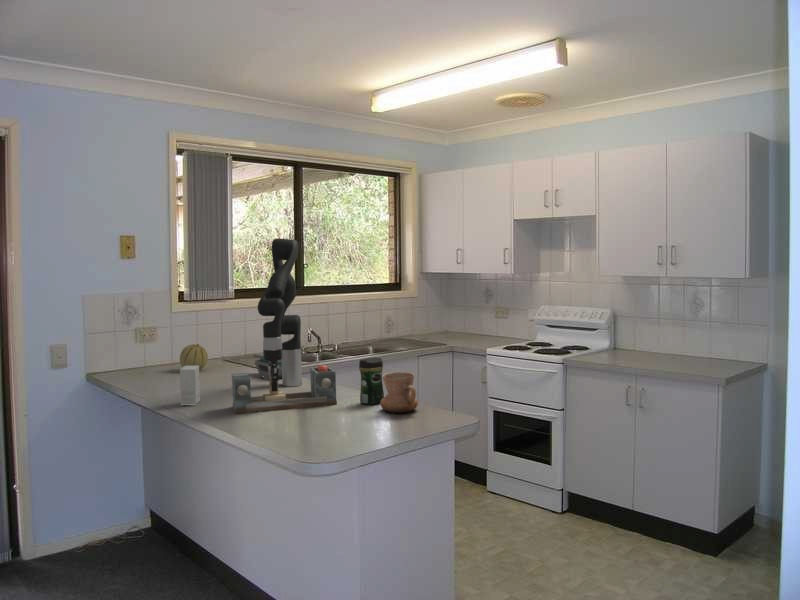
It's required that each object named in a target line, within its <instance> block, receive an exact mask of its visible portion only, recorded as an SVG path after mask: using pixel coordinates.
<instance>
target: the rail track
mask: <svg viewBox="0 0 800 600" xmlns="http://www.w3.org/2000/svg"><path fill="white" fill-rule="evenodd" d="M309 370H310V371H309V373H310V375H309V376H310V391H301V392H291V393H288V392H287V393H284V394H285V395H286V400H278V401H267V402H264V401H263V395H256V396H255V395H254V396H251V395H252V393H251V390H252V389H251V377H250V374H248V373H247V372H242V373H232V374H231V382H232V385H231V386H232V387H231V388H232V407H234V408H233V410H235V411H234V413H235V414H236V413H242V414H248V413H247V412H252V413H257V412H256V411H263V412H271V410H273V411H281V410H293V409H303V408H315V407H325V406H324V405H326V406H333V405H332V404H336V405H338V401H337V381H336V370H335V369H333V368H331V367H330V366H327V370H328V371H326V372H318V367H310V368H309Z"/></svg>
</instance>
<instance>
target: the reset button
mask: <svg viewBox="0 0 800 600" xmlns="http://www.w3.org/2000/svg"><path fill="white" fill-rule="evenodd" d="M327 367H328V364H327V365H325V364H324V365H323V364H322V365H318V366H317V368H318V372H326V371H328V370H327Z"/></svg>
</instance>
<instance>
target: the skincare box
mask: <svg viewBox="0 0 800 600" xmlns="http://www.w3.org/2000/svg"><path fill="white" fill-rule="evenodd" d="M179 382H180V383H179V384H180V386H179V387H180V388H179V389H180V391H179V392H180V405H181V404H196V403H198V402H199V401H200V402H201V391H200V390H201V388H200V386H201V385H200V370H199V365H198V366H184V367H181V368H180V369H179ZM200 402H199V403H200ZM199 403H198V404H199Z"/></svg>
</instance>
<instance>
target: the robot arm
mask: <svg viewBox="0 0 800 600" xmlns="http://www.w3.org/2000/svg"><path fill="white" fill-rule="evenodd" d="M298 255H299V243H298V240H296V239H292V238H291V239H290V238H289V239H288V238H279V237H278V238H277V237H276V238H274V239H273V240H272V243H271V256H272V265H273V270H274V271H273V273H272V274H271V276H270V278H269V281H268V285H267V288H266V290H265V292H263V294H262V296H261V297H260V299H259V301H258V303H257V312H258V314H259V315H260V316H262V317H274V318H273V319H272V320H270V321H267V322H264V323H263V326H262V332H263V338H262V340H263V341H262V353H263V359H264V360H266V361H269V364H268V374H269V377H271V383H272V391H273V392H274V391H277V382H278V383H279V379H280V378H278V375H279V364H277V360H281V359H282V378H281V379H282V380H281V382H282V383H281V384H282V386H283V387H297V386H302V385H303V372H302V371H303V370H302V369H303V367H302V344H301V342H302V341H301V329H302V328H301V325H302V321H301V317H300V315H299V314H287V315H286V312H287V310H288V308H289V307H290V305H291V304H292V303H293V301H294V300H295V298H296V297H297V296H296V295H297V284H296V280H295V278H294V277H293V276H292V274H291V272H292V270H293V268H294V266H295V264H296V261H297V259H298ZM283 261H285V262H283ZM283 335H284V336H287V335H289V336H290V335H293V337H291V338H290V339H289V340H286V341H282V336H283ZM273 377H276V378H273Z"/></svg>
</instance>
